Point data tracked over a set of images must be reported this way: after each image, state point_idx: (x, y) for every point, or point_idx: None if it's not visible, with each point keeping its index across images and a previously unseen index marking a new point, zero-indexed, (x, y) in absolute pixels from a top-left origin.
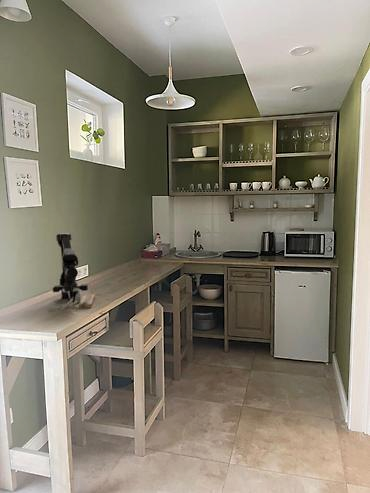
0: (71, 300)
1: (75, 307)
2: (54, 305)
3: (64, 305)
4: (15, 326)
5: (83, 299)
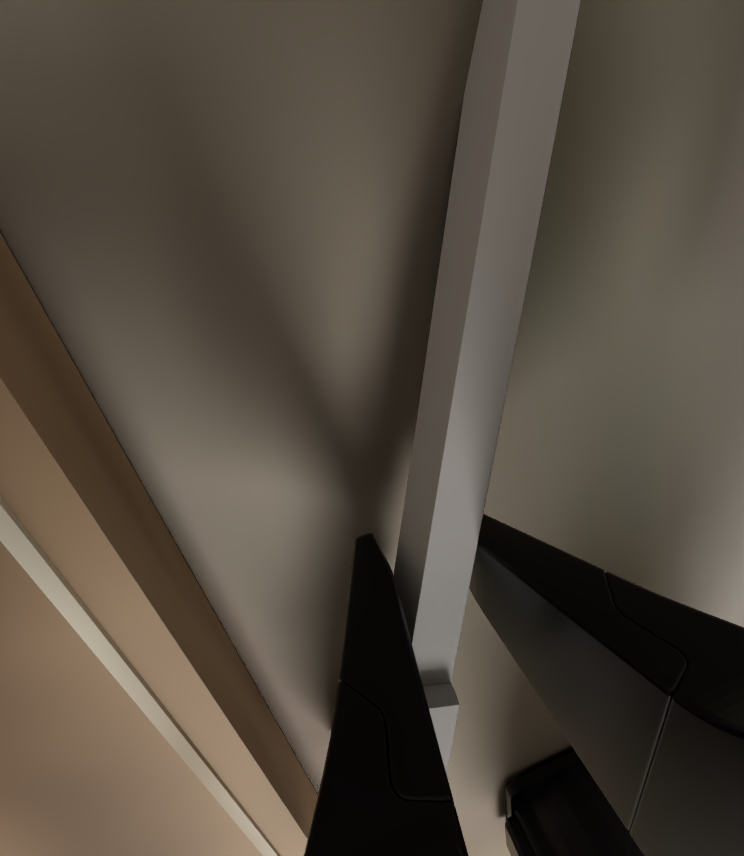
0: (435, 561)
1: (194, 300)
2: (694, 449)
3: (534, 159)
4: None
5: (189, 766)
